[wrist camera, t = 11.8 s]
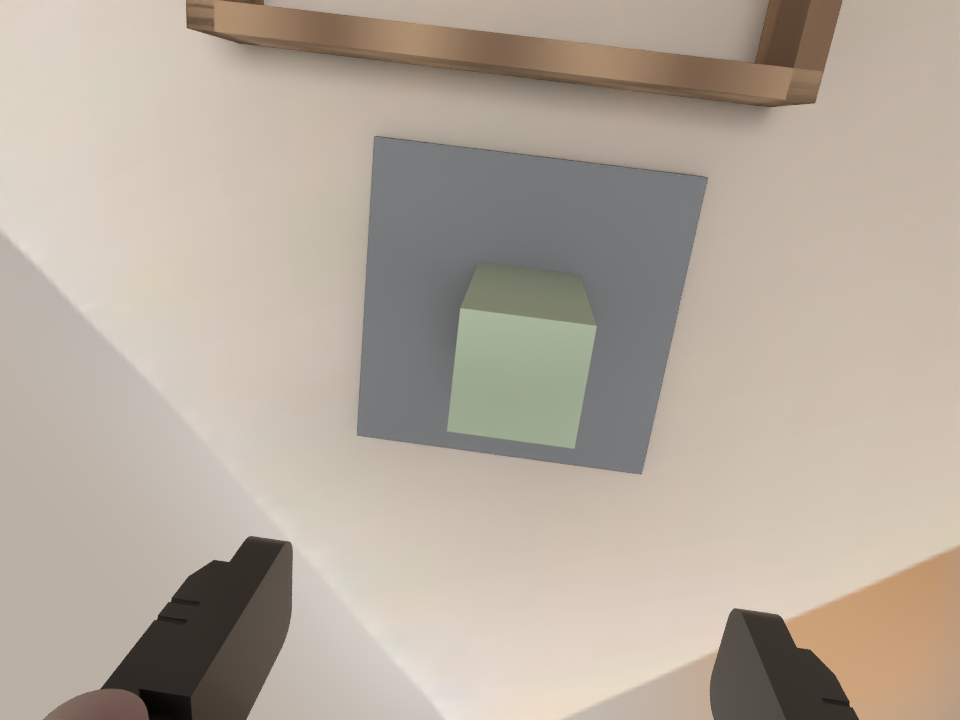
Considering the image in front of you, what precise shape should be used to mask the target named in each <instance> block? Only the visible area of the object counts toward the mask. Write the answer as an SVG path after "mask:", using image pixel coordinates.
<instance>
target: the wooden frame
mask: <svg viewBox="0 0 960 720" xmlns="http://www.w3.org/2000/svg"><path fill="white" fill-rule="evenodd" d="M841 4H842V0H770V2H769V7H768V11H767V15H766V19H765V24H764V28H763V32H762V37H761V41H760V45H759V49H758V54H757V58H756V62H755V63H746V62H738V61H730V60H721V59H713V58H704V57H696V56H687V55H679V54H670V53H662V52H653V51H645V50H636V49H628V48H619V47H611V46H602V45H594V44H586V43H577V42H569V41H560V40H552V39H543V38H535V37H526V36H518V35H509V34H501V33H492V32H484V31H475V30H467V29H458V28H450V27H442V26H433V25H425V24H416V23H408V22H399V21H391V20H382V19H374V18H365V17H357V16H348V15H340V14H331V13H323V12H314V11H306V10H298V9H289V8H281V7H272V6H264V5H263V0H186V17H187V28H188V29H192V30H195V31H199V32H202V33H206V34H209V35H213V36H216V37H219V38H223V39H226V40H230V41H233V42H237V43H241V44H250V45H258V46H266V47H275V48H283V49H291V50H300V51H308V52H316V53H325V54H333V55H341V56H350V57H358V58H366V59H375V60H383V61H391V62H400V63H408V64H416V65H425V66H433V67H442V68H450V69H458V70H467V71H475V72H483V73H492V74H500V75H508V76H517V77H525V78H533V79H542V80H550V81H558V82H567V83H575V84H583V85H592V86H600V87H608V88H617V89H625V90H633V91H642V92H650V93H658V94H667V95H675V96H683V97H692V98H700V99H708V100H717V101H725V102H733V103H742V104H750V105H758V106H767V107H776V106H787V105H799V104H811V103H815V101H816V98H817V94H818V90H819V86H820V83H821V79H822V75H823V71H824V68H825V64H826V60H827V56H828V53H829V49H830V45H831V41H832V38H833V34H834V30H835V26H836V23H837V19H838V15H839V11H840V8H841Z"/></svg>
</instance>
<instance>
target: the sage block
mask: <svg viewBox="0 0 960 720" xmlns="http://www.w3.org/2000/svg"><path fill="white" fill-rule="evenodd" d="M596 328H597V325H596V322H595V319H594V316H593V313H592V310H591V307H590V304H589V301H588V298H587V295H586V292H585V289H584V286H583V283H582V280H581V277H580V275H578V274H570V273H562V272H555V271H547V270H539V269H531V268H523V267H516V266H508V265H500V264H492V263H485V262H478V264H477V267H476V269H475V272H474V274H473V277H472V279H471V282H470V285H469V287H468V290H467V292H466V295H465V297H464V300H463V302H462V305H461V308H460V316H459V325H458V334H457V343H456V352H455V362H454V371H453V380H452V389H451V399H450V408H449V417H448V426H447V431H448V432H455V433H463V434H470V435H477V436H485V437H492V438H499V439H507V440H514V441H521V442H529V443H536V444H543V445H551V446H558V447H565V448H573V449H575V443H576V438H577V432H578V427H579V421H580V416H581V410H582V405H583V400H584V394H585V389H586V383H587V378H588V372H589V367H590V361H591V356H592V350H593V345H594V339H595V334H596Z"/></svg>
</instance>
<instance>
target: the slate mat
mask: <svg viewBox="0 0 960 720" xmlns="http://www.w3.org/2000/svg"><path fill="white" fill-rule="evenodd" d="M707 180H708V178H707V177H702V176H694V175H686V174H678V173H670V172H662V171H654V170H646V169H637V168H629V167H621V166H613V165H605V164H597V163H589V162H581V161H573V160H564V159H556V158H548V157H540V156H532V155H524V154H516V153H508V152H500V151H491V150H483V149H475V148H467V147H459V146H451V145H443V144H435V143H427V142H419V141H410V140H402V139H394V138H386V137H378V136H376V137H374V149H373V166H372V183H371V201H370V218H369V235H368V253H367V270H366V287H365V304H364V322H363V339H362V356H361V373H360V391H359V408H358V425H357V436H364V437H371V438H379V439H386V440H393V441H401V442H408V443H415V444H422V445H430V446H437V447H444V448H452V449H459V450H466V451H474V452H481V453H488V454H495V455H503V456H510V457H517V458H525V459H532V460H539V461H546V462H554V463H561V464H568V465H576V466H583V467H590V468H598V469H605V470H612V471H619V472H627V473H634V474H641V475H642V471H643V466H644V462H645V457H646V453H647V448H648V444H649V439H650V435H651V430H652V426H653V421H654V417H655V412H656V408H657V403H658V399H659V395H660V390H661V386H662V381H663V377H664V372H665V368H666V363H667V359H668V354H669V350H670V345H671V341H672V336H673V332H674V327H675V323H676V318H677V314H678V309H679V305H680V300H681V296H682V292H683V287H684V283H685V278H686V274H687V269H688V265H689V260H690V256H691V251H692V247H693V242H694V238H695V233H696V229H697V224H698V220H699V215H700V211H701V206H702V202H703V198H704V193H705V189H706V184H707ZM478 262H485V263H492V264H500V265H508V266H516V267H523V268H531V269H539V270H547V271H555V272H562V273H570V274H578V275H580V277H581V280H582V283H583V286H584V289H585V292H586V295H587V298H588V301H589V304H590V307H591V310H592V313H593V316H594V319H595V322H596V325H597V328H596V334H595V339H594V345H593V350H592V356H591V361H590V367H589V372H588V378H587V383H586V389H585V394H584V400H583V405H582V410H581V416H580V421H579V427H578V432H577V438H576V443H575V449H573V448H565V447H558V446H551V445H543V444H536V443H529V442H521V441H514V440H507V439H499V438H492V437H485V436H477V435H470V434H463V433H455V432H448V431H447V426H448V417H449V408H450V399H451V389H452V380H453V371H454V362H455V352H456V343H457V334H458V325H459V316H460V308H461V305H462V302H463V300H464V297H465V295H466V292H467V290H468V287H469V285H470V282H471V279H472V277H473V274H474V272H475V269H476V267H477V264H478Z"/></svg>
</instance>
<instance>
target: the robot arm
mask: <svg viewBox="0 0 960 720" xmlns="http://www.w3.org/2000/svg"><path fill="white" fill-rule="evenodd" d="M292 557H293V551H292V545H291V543H290V542H288V541H280V540H274V539H267V538H260V537H253V536H250V537H248V538H247V539H246V540H245V541H244V542H243V544H242V545H241V547H240V548H239V549H238V551H237V552H236V554H235V555H234V556H233V558H232V559H231V561H230V562H224V561H217V560H213V561H212V562H210V563H209V564H207V565H206V566H204V567H203V568H201V569H199V570H198V571H196V572H195V573H193V574H192V575H190V576H189V577H188V578H187V579H186V580H185V582H184V583H183V584H182V586H181V587H180V588H179V589H178V591H177V592H176V593H175V595H174V596H173V597H172V601H171V602H168V604H167V605H166V606H165V607H164V609H163V610H162V611H161V612H160V614H159V615H158V619H157V620H154V621H153V623H152V624H151V625H150V627H149V628H148V629H147V631H146V632H145V633H144V634H143V636H142V637H141V638H140V639H139V641H138V642H137V643H136V644H135V646H134V647H133V648H132V650H131V651H130V652H129V654H128V655H127V656H126V657H125V658H124V660H123V661H122V662H121V664H120V665H119V666H118V667H117V669H116V670H115V671H114V672H113V674H112V675H111V676H110V678H109V679H108V680H107V681H106V683H105V684H104V685H103V687H102V688H101V689H100V690H95V691H92V692H87V693H84V694H82V695H79V696H77V697H74V698H72V699H70V700H68V701H67V702H65V703H63V704H62V705H60V706H58V707H57V708H56V709H55V710H53V711H52V712H51V713H50V714H48V716H46V717H45V718H44V719H43V720H246V719H247V717H248V715H249V713H250V710H251V708H252V707H253V705H254V703H255V701H256V699H257V697H258V695H259V693H260V691H261V689H262V687H263V684H264V683H265V680H266V678H267V676H268V674H269V672H270V670H271V668H272V666H273V664H274V662H275V660H276V658H277V656H278V654H279V652H280V650H281V648H282V646H283V644H284V641H285V639H286V635H287V632H288V628H289V624H290V618H291V610H292ZM710 702H711V709H712V714H713V717H714V720H859V719H858V717H857V715H856V713H855V711H854V709H853V708H851V707H850V706H849V703H850V702H849V700H848V698H847V696H846V695H845V693H844V691H843V689H842V687H841V685H840V683H839V681H838V680H837V678H836V676H835V675H834V673H833V672H831V670H830V669H829V668H828V667H827V666H825V664H823V662H822V661H821V660H820V659H819V658H818V657H817V656H816V655H815V654H814V653H813V652H812V651H811V650H808V649H801V648H797V647H796V645H795V643H794V641H793V639H792V637H791V635H790V633H789V631H788V629H787V627H786V625H785V623H784V621H783V619H782V618H781V617H780V616H779V615H777V614H771V613H764V612H757V611H750V610H743V609H737V608H735V609H733V610H732V611H731V613H730V615H729V617H728V620H727V624H726V627H725V630H724V634H723V637H722V641H721V644H720V648H719V651H718V654H717V658H716V662H715V665H714V669H713V672H712V676H711V682H710Z"/></svg>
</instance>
